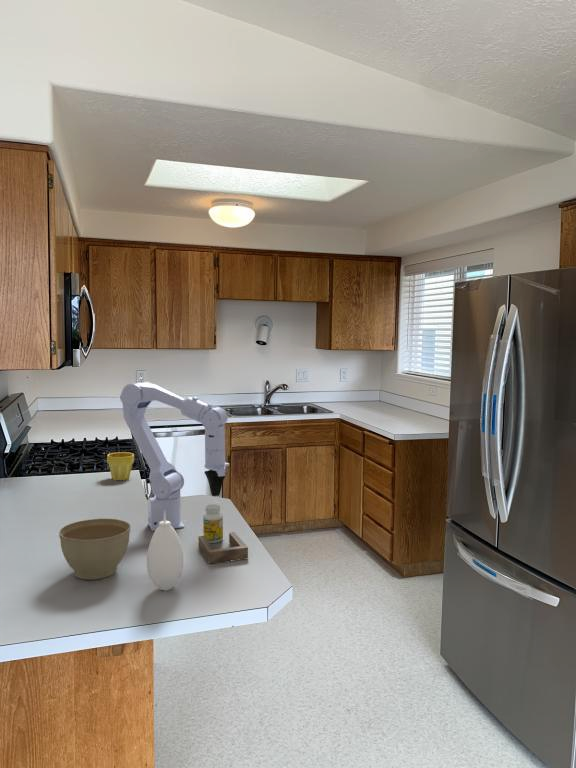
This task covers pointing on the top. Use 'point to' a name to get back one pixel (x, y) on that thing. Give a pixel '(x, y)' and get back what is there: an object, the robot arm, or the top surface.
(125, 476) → the plant pot
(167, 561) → the sauce bottle
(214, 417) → the robot arm
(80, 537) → the planter bowl
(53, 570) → the top surface
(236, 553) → the u rest
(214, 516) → the supplement bottle
